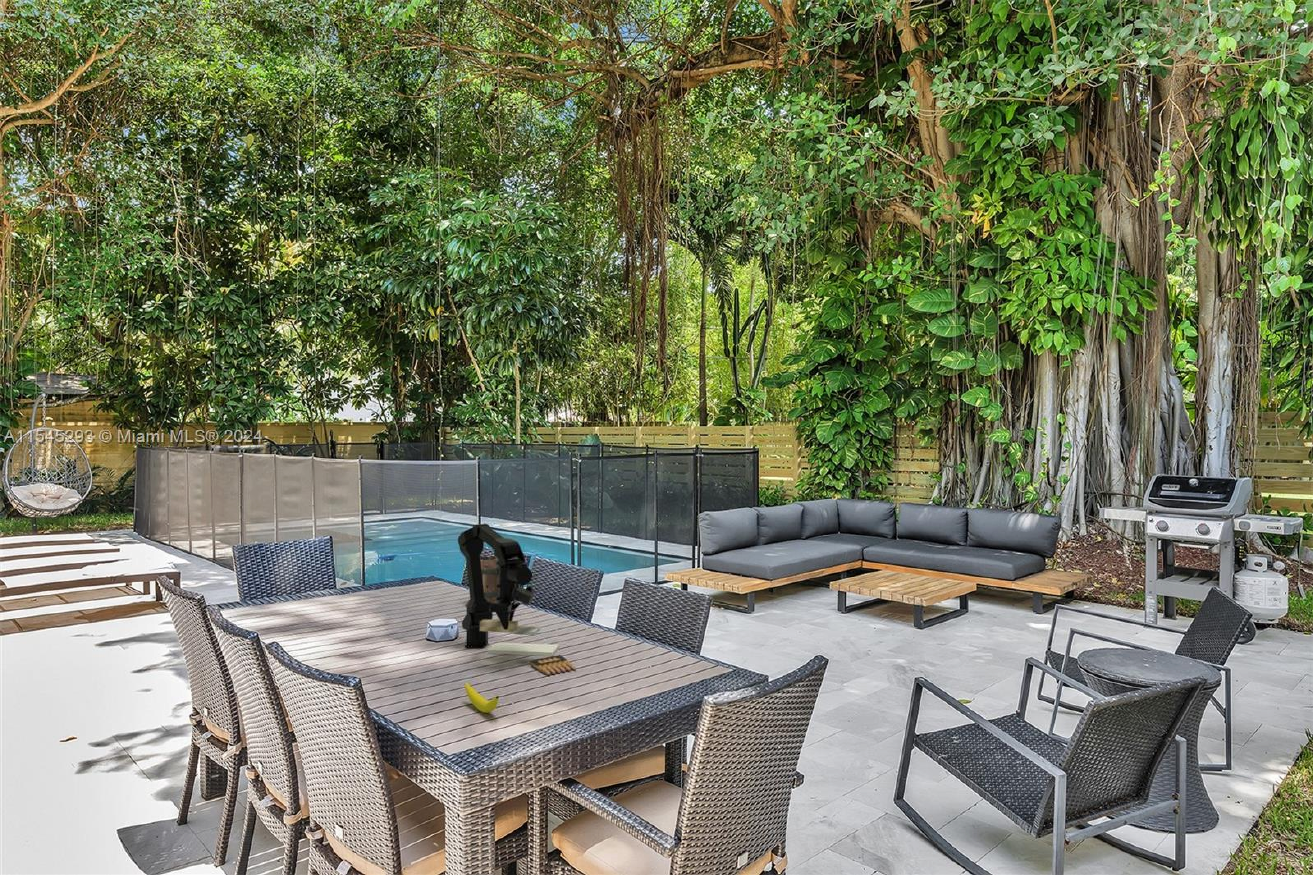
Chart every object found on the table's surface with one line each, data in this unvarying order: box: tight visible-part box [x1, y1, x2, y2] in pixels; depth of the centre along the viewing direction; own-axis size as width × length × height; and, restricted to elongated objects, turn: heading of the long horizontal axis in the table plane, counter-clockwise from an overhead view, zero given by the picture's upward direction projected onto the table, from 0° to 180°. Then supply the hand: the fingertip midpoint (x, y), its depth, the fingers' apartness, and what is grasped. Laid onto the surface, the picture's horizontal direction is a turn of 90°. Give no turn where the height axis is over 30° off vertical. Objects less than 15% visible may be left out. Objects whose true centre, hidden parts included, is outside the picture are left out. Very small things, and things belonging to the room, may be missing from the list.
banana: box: [464, 682, 500, 714], centre depth 205 cm, size 3×19×6 cm, turn 39°
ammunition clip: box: [529, 654, 577, 676], centre depth 240 cm, size 11×2×12 cm
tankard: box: [465, 555, 501, 608], centre depth 323 cm, size 24×17×20 cm
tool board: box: [487, 642, 560, 657], centre depth 259 cm, size 22×9×1 cm, turn 84°
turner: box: [480, 619, 541, 636], centre depth 249 cm, size 19×6×3 cm, turn 81°
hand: (507, 627), depth 249 cm, fingers closed on turner, 3 cm apart
